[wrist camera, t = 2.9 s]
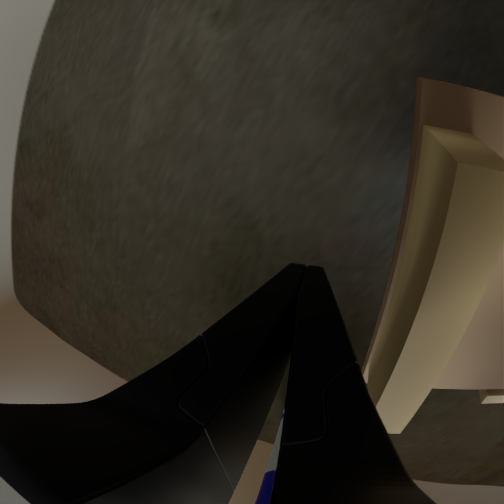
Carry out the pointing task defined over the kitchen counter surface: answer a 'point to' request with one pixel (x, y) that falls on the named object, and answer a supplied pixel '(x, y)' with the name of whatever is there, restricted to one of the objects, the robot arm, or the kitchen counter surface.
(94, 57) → the kitchen counter surface
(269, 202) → the kitchen counter surface
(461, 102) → the lid
